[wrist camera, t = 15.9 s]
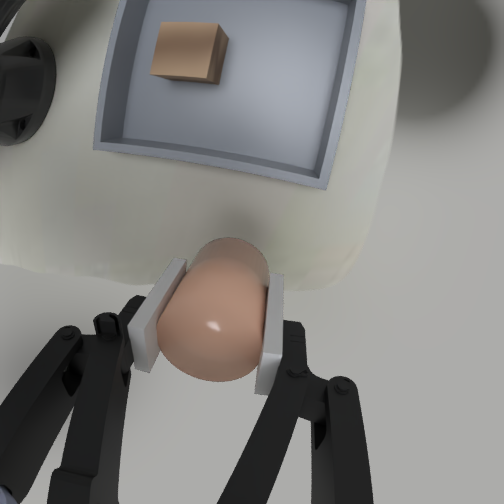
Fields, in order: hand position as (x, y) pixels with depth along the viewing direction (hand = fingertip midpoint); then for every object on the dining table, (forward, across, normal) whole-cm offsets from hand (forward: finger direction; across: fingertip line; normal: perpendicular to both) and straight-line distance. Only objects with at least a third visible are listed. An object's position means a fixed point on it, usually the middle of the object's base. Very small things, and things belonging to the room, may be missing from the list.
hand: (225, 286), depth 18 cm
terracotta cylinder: (+2, 0, 0) cm, 2 cm away
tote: (+15, -4, +15) cm, 21 cm away
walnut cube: (+14, -7, +15) cm, 22 cm away
